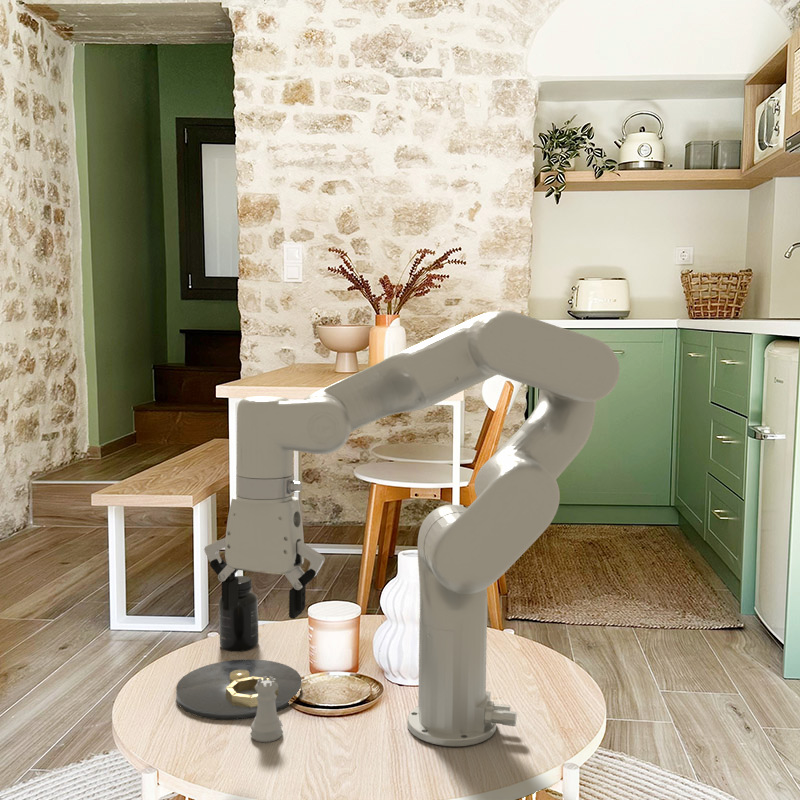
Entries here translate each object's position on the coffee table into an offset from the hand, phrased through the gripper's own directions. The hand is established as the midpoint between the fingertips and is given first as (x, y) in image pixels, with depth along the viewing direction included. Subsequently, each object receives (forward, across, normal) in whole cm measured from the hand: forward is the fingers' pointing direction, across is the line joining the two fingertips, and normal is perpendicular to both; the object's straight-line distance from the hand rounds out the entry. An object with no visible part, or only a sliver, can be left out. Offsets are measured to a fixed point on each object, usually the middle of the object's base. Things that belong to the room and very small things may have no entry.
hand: (263, 611), depth 118 cm
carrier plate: (+18, +9, -12) cm, 24 cm away
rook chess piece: (+18, -1, 0) cm, 18 cm away
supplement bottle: (+18, +18, -30) cm, 40 cm away
